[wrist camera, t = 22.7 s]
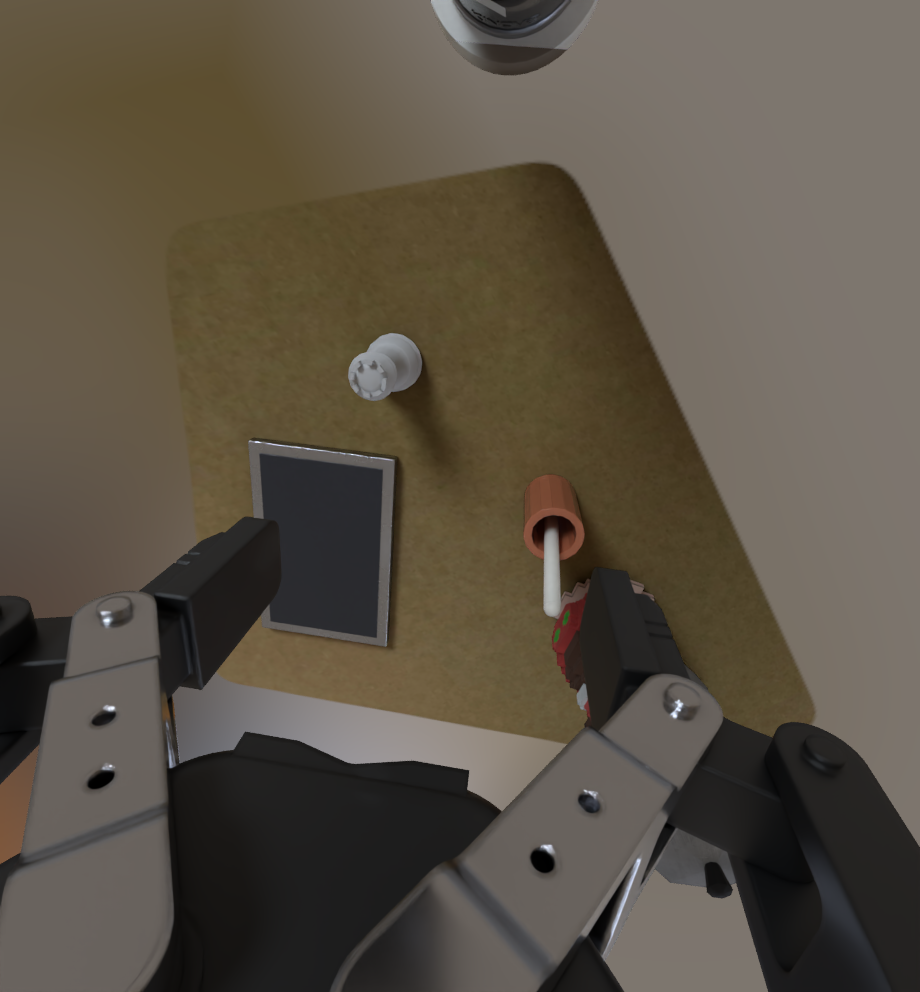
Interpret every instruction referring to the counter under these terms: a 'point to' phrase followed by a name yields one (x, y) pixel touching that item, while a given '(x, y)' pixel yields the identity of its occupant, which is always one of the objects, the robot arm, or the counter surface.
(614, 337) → the counter surface
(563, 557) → the pen cup
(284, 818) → the robot arm
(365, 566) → the tablet
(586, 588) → the cake
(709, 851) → the coffeepot
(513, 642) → the counter surface
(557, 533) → the stylus
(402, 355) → the rook chess piece
